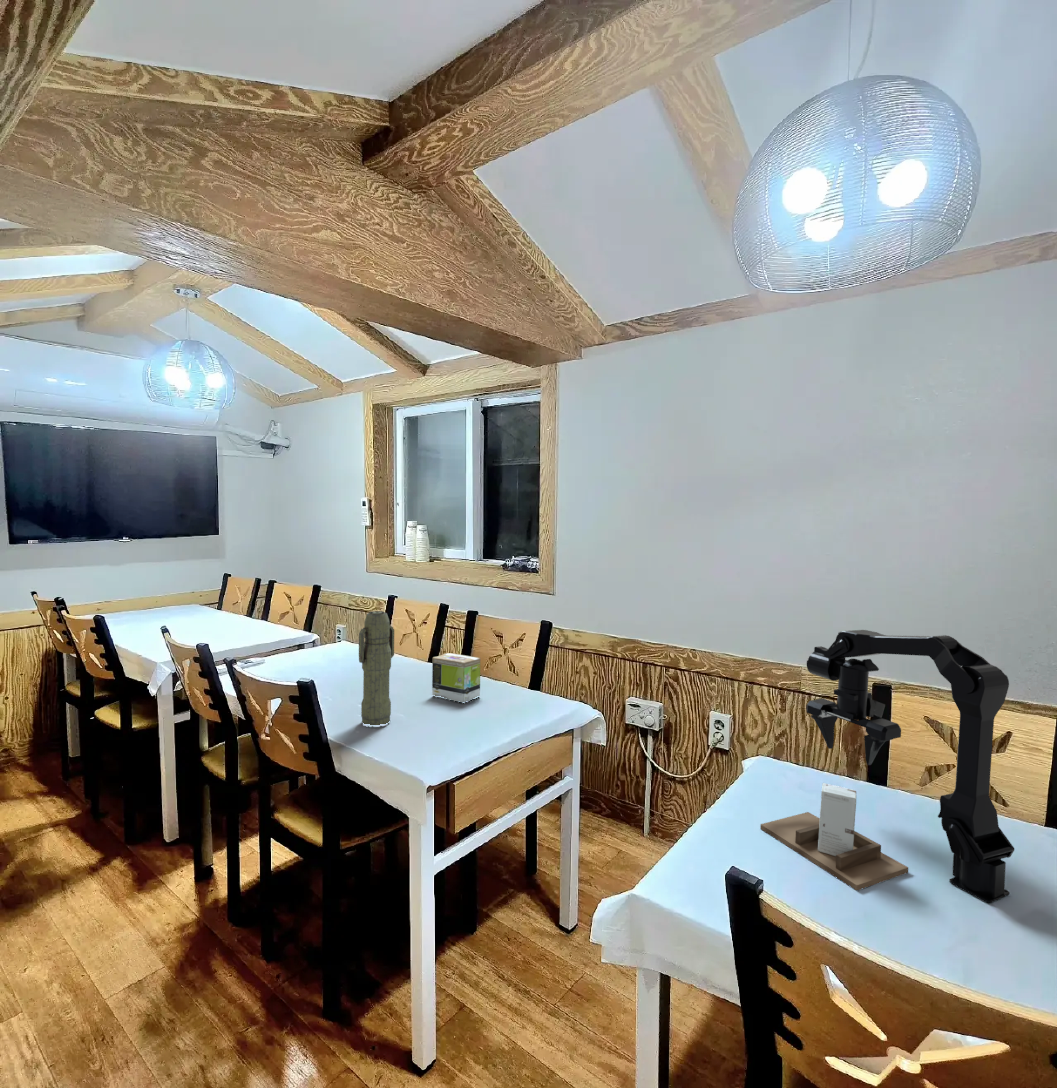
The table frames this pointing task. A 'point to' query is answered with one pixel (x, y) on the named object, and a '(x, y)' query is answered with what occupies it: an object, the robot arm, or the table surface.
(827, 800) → the skincare box
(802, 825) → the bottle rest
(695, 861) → the table surface
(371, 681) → the olive robed figurine
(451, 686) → the tea box
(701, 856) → the table surface
